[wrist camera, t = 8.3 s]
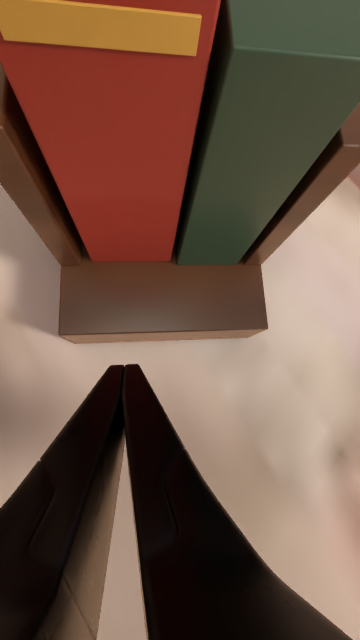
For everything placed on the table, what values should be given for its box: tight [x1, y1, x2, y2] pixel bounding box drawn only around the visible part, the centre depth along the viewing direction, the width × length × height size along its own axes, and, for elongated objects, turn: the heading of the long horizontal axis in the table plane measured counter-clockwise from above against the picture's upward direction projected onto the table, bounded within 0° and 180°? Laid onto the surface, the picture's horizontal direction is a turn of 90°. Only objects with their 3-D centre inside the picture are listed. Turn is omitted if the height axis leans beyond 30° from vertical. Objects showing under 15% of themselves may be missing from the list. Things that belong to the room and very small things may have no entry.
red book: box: [0, 0, 221, 262], centre depth 10 cm, size 10×4×12 cm, turn 3°
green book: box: [175, 0, 360, 265], centre depth 11 cm, size 10×3×10 cm, turn 3°
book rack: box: [0, 63, 360, 343], centre depth 13 cm, size 15×10×11 cm
